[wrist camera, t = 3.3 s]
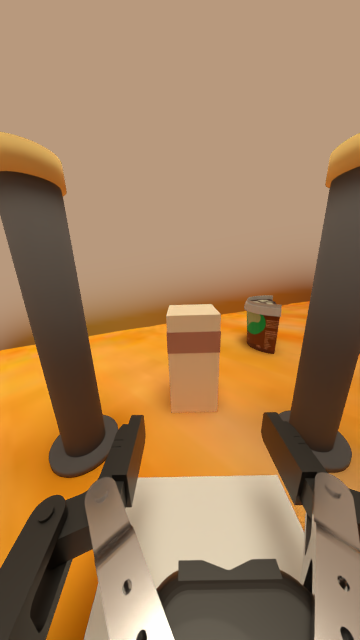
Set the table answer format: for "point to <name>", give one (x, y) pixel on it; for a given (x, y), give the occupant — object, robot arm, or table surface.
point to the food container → (262, 323)
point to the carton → (193, 357)
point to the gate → (70, 327)
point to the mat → (209, 527)
